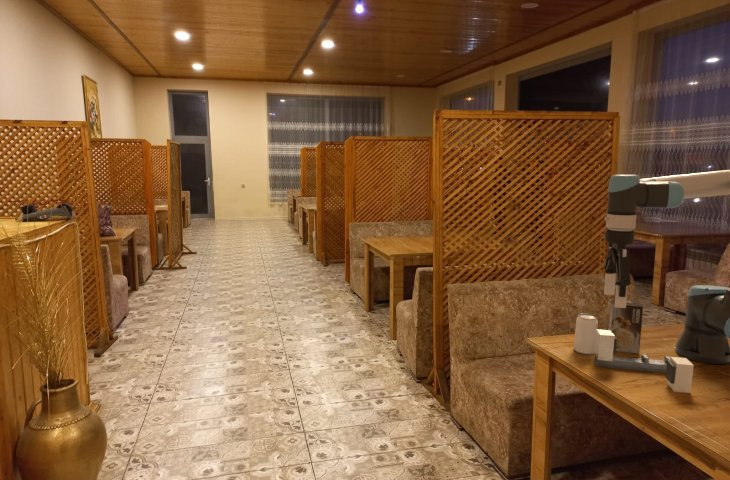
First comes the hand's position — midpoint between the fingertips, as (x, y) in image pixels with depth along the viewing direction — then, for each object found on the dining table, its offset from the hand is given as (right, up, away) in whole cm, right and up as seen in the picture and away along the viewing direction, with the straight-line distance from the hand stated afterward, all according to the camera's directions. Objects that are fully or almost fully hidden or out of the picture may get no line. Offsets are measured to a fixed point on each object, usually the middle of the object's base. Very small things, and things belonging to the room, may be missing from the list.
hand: (614, 300), depth 147 cm
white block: (+14, -23, -7) cm, 28 cm away
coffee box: (+13, -19, +21) cm, 31 cm away
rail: (+8, -21, +6) cm, 23 cm away
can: (-1, -19, +19) cm, 27 cm away
